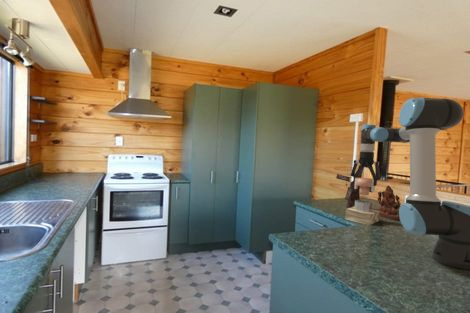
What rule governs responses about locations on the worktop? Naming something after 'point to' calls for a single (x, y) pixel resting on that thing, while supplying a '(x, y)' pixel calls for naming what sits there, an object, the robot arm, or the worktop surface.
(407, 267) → the worktop surface
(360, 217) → the square wooden block
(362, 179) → the pink mushroom-shaped knob
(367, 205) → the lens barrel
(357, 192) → the miniature windmill
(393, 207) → the sculpture
